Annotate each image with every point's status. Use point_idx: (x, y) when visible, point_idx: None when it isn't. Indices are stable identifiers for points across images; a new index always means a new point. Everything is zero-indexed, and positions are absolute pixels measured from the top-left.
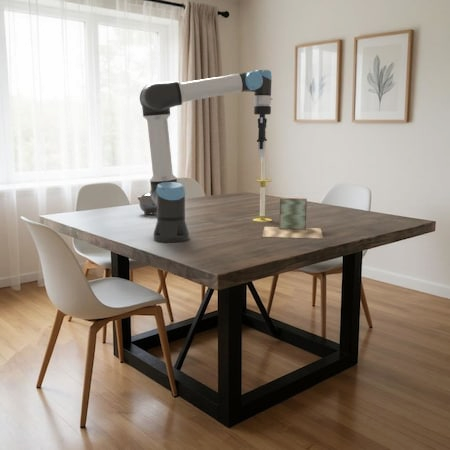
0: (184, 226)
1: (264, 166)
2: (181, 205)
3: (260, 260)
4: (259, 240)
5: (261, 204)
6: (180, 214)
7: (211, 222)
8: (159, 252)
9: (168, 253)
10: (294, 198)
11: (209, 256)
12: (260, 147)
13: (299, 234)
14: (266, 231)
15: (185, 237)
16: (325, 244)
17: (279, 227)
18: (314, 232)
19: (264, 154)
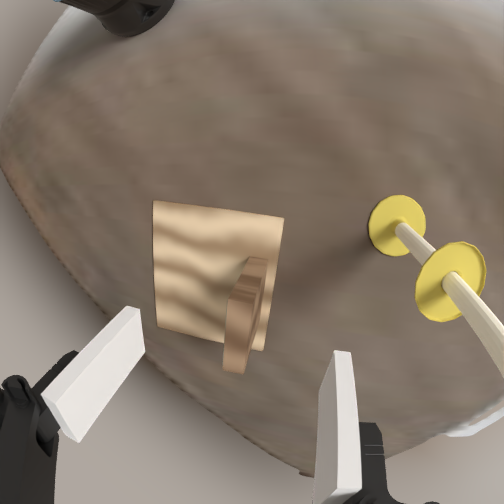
0: (106, 22)
1: (473, 329)
2: (71, 5)
3: (25, 194)
4: (126, 192)
5: (408, 238)
6: (83, 10)
7: (365, 61)
8: (54, 34)
9: (48, 49)
10: (241, 344)
11: (33, 115)
12: (63, 365)
13: (185, 291)
14: (213, 216)
15: (113, 33)
16: None
17: (249, 258)
18: (212, 327)
19: (320, 392)
